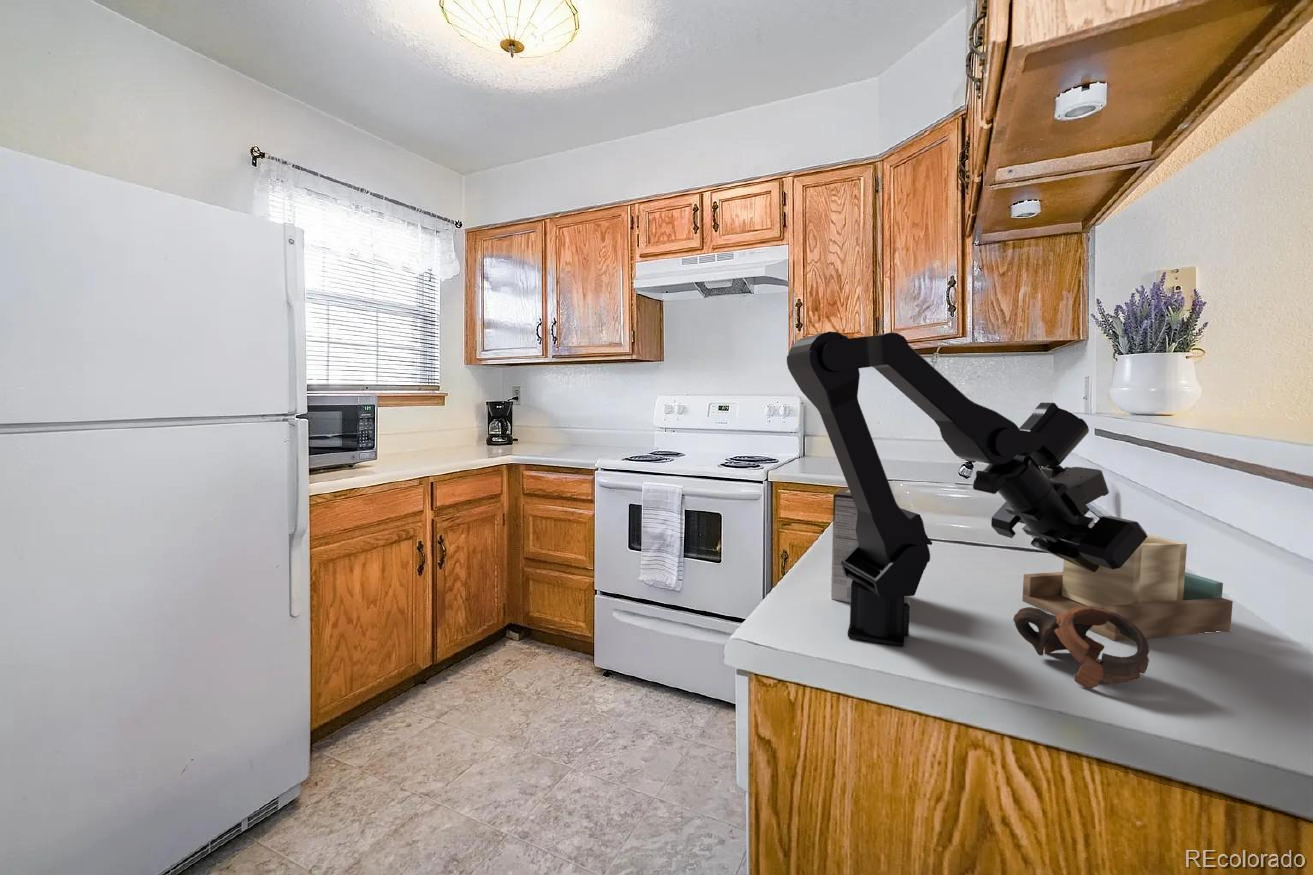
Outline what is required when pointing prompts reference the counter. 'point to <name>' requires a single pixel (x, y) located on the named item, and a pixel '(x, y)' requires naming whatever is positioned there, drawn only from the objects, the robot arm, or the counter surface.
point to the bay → (1144, 607)
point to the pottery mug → (1084, 642)
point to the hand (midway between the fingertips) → (1094, 568)
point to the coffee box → (842, 542)
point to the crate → (1131, 577)
